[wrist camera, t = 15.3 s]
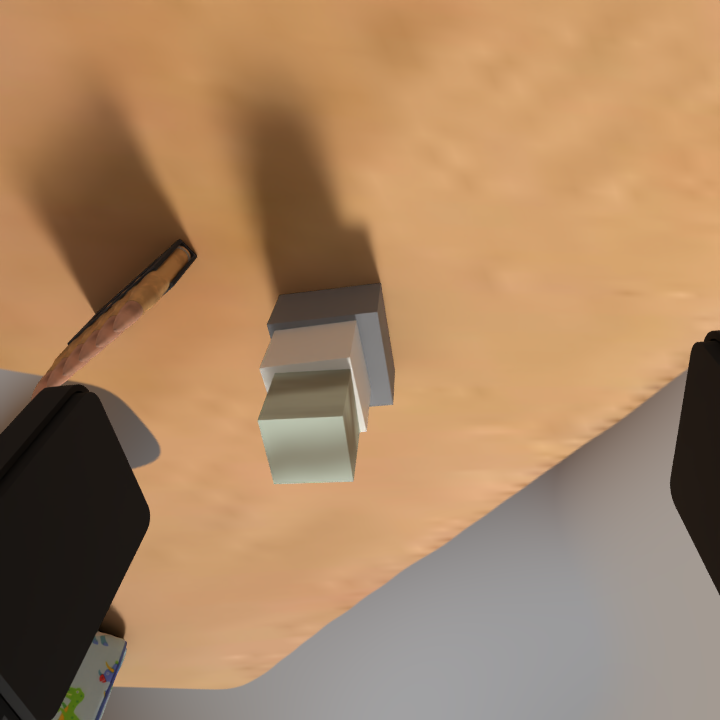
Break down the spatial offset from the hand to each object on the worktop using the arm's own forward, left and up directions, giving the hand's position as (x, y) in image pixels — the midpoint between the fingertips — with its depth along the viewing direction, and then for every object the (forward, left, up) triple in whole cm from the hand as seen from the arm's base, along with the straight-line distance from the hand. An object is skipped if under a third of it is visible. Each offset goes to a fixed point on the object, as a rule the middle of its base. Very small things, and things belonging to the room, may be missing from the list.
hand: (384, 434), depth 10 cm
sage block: (+17, -8, -24) cm, 31 cm away
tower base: (+17, -7, -34) cm, 39 cm away
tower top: (+16, -8, -30) cm, 35 cm away
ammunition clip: (+11, -22, -35) cm, 42 cm away
